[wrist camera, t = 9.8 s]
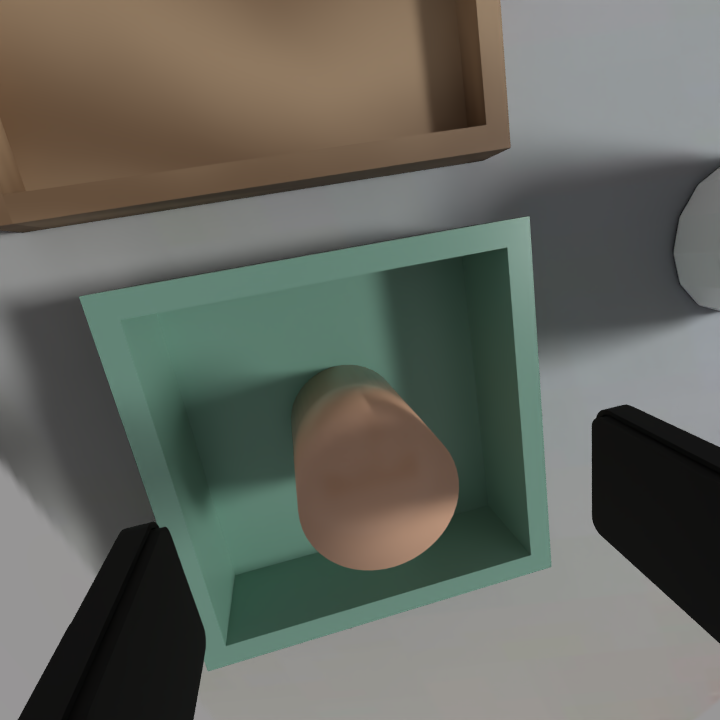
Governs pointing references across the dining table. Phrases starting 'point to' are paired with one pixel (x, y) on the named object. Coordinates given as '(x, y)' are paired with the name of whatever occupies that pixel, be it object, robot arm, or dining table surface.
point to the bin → (273, 420)
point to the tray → (235, 99)
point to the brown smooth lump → (368, 471)
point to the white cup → (701, 244)
